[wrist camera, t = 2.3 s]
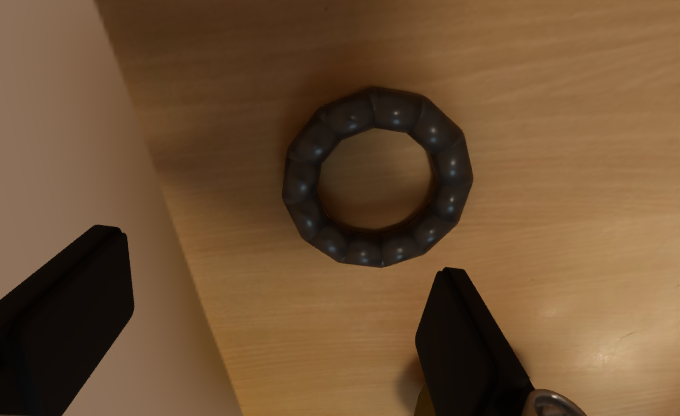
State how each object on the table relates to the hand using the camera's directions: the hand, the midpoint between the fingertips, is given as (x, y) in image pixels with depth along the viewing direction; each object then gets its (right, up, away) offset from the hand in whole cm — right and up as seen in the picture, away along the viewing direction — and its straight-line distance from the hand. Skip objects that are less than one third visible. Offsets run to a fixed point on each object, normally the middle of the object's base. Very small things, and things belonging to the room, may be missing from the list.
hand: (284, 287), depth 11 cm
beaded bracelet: (+4, +4, +7) cm, 9 cm away
